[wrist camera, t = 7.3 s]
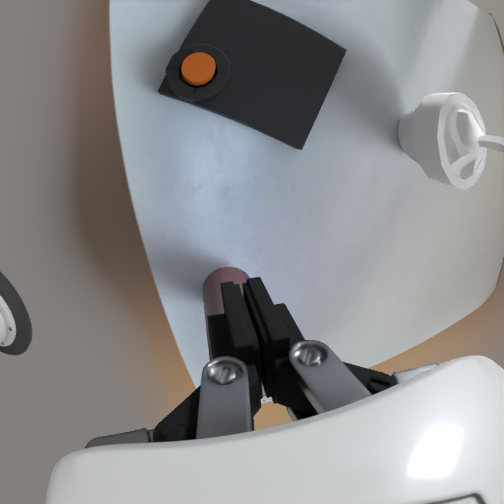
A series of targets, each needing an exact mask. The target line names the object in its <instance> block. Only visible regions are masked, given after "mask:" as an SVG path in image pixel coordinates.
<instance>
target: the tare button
mask: <svg viewBox="0 0 504 504" xmlns="http://www.w3.org/2000/svg"><path fill="white" fill-rule="evenodd" d="M181 71H182V76H183V78H184V80H185V81H186V82H187V83H189V84H191V85H196V86H198V85H203V84H206V83H207V82H209V81H210V80H211V79H212V77H213V75H214V71H215V62H214V60H213V58H212V57H211V56H209V55H208V54H205V53H194V54H191V55H189V56H188V57H186V58H185V60H184V61H183V63H182V66H181Z"/></svg>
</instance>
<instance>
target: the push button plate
mask: <svg viewBox="0 0 504 504" xmlns="http://www.w3.org/2000/svg"><path fill="white" fill-rule="evenodd" d="M194 53H205V54H208V55H209V56H211V57H212V58H213V60H214V62H215V71H214V75H213V77H212V79H211V80H210V81H209V82H207V83H206V84H203V85H198V86H196V85H191V84H189V83H187V82H186V81H185V80H184V78H183V76H182V71H181V66H182V63H183V61H184V60H185V58H186V57H188V56H189V55H191V54H194ZM345 53H346V49H344V48H343V47H341V46H339V45H338V44H336V43H335V42H333V41H331V40H330V39H328V38H327V37H325V36H323V35H321V34H320V33H318V32H316V31H314V30H313V29H311V28H309V27H307V26H305V25H303V24H301V23H300V22H298V21H296V20H294V19H292V18H290V17H288V16H285V15H283V14H281V13H279V12H277V11H275V10H272V9H270V8H268V7H265V6H263V5H261V4H258V3H256V2H253V1H251V0H210V1H209V3H208V4H207V5H206V7H205V8H204V10H203V11H202V13H201V14H200V16H199V18H198V19H197V21H196V22H195V24H194V25H193V27H192V29H191V30H190V32H189V34H188V35H187V37H186V39H185V40H184V42H183V44H182V46H181V47H180V49H179V51H178V52H177V53H175V54H174V55H173V56H172V58H171V60H170V62H169V64H168V66H167V68H166V76H165V78H164V80H163V82H162V84H161V86H160V88H159V90H158V92H159V94H161V95H165V96H168V97H171V98H174V99H177V100H180V101H183V102H186V103H189V104H192V105H195V106H198V107H200V108H203V109H206V110H208V111H211V112H214V113H216V114H219V115H222V116H224V117H227V118H229V119H232V120H234V121H236V122H239V123H241V124H244V125H246V126H248V127H251V128H253V129H255V130H258V131H260V132H262V133H264V134H266V135H269V136H271V137H273V138H275V139H277V140H279V141H281V142H284V143H286V144H288V145H290V146H292V147H294V148H296V149H300V150H302V148H303V146H304V144H305V142H306V140H307V137H308V135H309V133H310V131H311V128H312V126H313V124H314V122H315V120H316V117H317V115H318V113H319V111H320V108H321V106H322V104H323V102H324V100H325V97H326V95H327V93H328V91H329V88H330V86H331V84H332V82H333V80H334V77H335V75H336V73H337V71H338V68H339V66H340V64H341V62H342V59H343V57H344V55H345Z"/></svg>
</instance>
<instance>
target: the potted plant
mask: <svg viewBox="0 0 504 504" xmlns="http://www.w3.org/2000/svg"><path fill="white" fill-rule="evenodd" d="M397 134H398V138H399V142H400V146H401V147H402V149H403V150H404V152H405V153H406V154H407V155H408V156H409V157H411V158H412V159H413V160H415V161H416V162H417V163H419V164H420V165H421V167H422V168H423V170H424V171H425V173H426V175H427V176H428V178H430V179H433V180H435V181H438V182H440V183H443V184H446V185H449V186H452V187H455V188H458V189H461V190H464V191H465V190H466V189H468V188H470V187H471V186H473V185H475V184H476V183H477V181H478V179H479V177H480V175H481V173H482V171H483V169H484V167H485V160H486V152H487V148H490V149H494V150H499V151H502V152H504V138H503V137H498V136H492V135H486V132H485V126H484V122H483V119H482V117H481V115H480V113H479V111H478V109H477V107H476V105H475V103H474V102H473V101H471V100H470V99H469V98H468V97H467V96H466V95H464V94H463V93H437V94H430V95H425V96H424V98H423V99H422V101H421V102H420V104H419V105H418V106H417V107H415V108H414V109H412V110H410V111H408V112H406V113H405V114H404V115H403V117H402V118H401V119H400V121H399V125H398V133H397Z"/></svg>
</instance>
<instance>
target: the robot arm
mask: <svg viewBox="0 0 504 504" xmlns="http://www.w3.org/2000/svg"><path fill="white" fill-rule="evenodd" d="M220 286H221V294H222V301H223V308H224V313H223V314H217V315H210V316H207V321H208V329H209V337H210V345H211V352H212V359H213V360H211V361H210V362H208V363H207V364H206V365H205V367H204V368H203V371H202V378H201V385H200V386H199V387H198V388H197V389H196V390H195V391H194V392H193V393H192V394H191V395H190V396H189V397H187V398H186V399H185V400H184V401H183V402H182V403H181V404H180V405H179V406H178V407H176V408H175V409H174V410H173V411H172V412H171V413H170V414H169V415H167V417H165V418H164V419H163V420H162V421H161V422H160V423H159V424H158V425H157V426H156V427H155V429H151V430H147V429H146V428H143V429H139V430H134V431H130V432H124V433H119V434H114V435H108V436H102V437H97V438H94V439H92V440H91V441H89V442H88V444H87V445H86V447H85V449H82V450H79V451H76V452H73V453H71V454H69V455H67V456H65V457H63V458H62V459H61V460H59V462H58V463H57V464H56V465H55V467H54V469H53V471H52V474H51V477H50V481H49V485H48V488H47V494H46V501H45V504H504V370H503V369H502V368H501V367H500V366H499V365H498V364H496V363H495V362H493V361H492V360H491V359H489V358H487V357H483V356H477V355H476V356H467V357H460V358H456V359H453V360H450V361H447V362H445V363H442V364H436V363H435V364H429V365H425V366H421V367H417V368H412V369H408V370H403V371H399V372H394V373H393V374H392V376H389V375H388V374H384V373H382V372H378V371H374V370H371V369H367V368H363V367H360V366H356V365H352V364H349V363H345V362H342V361H341V360H340V359H339V358H338V357H337V356H336V355H335V353H334V352H333V351H332V350H331V349H330V348H329V347H328V346H327V345H326V344H324V343H322V342H320V341H316V340H305V339H304V337H303V336H302V334H301V332H300V330H299V329H298V327H297V325H296V323H295V321H294V320H293V318H292V316H291V314H290V312H289V311H288V309H287V307H286V305H285V304H284V303H282V304H276V305H274V304H273V302H272V300H271V298H270V296H269V294H268V292H267V290H266V288H265V286H264V284H263V282H262V280H261V278H260V277H256V278H249V279H247V282H246V283H242V287H243V295H242V292H241V289H240V286H239V284H234V282H233V281H230V282H223V283H220ZM15 336H16V325H15V321H14V318H13V316H12V313H11V311H10V309H9V307H8V306H7V304H6V302H5V301H4V299H3V298H2V297H1V295H0V346H9V345H10V344H12V342H13V341H14V339H15ZM262 385H263V388H264V391H265V394H266V397H272V400H273V402H274V403H279V404H281V405H284V406H286V407H287V411H288V414H289V415H290V417H291V418H292V420H293V422H291V423H286V424H283V425H278V426H274V427H270V428H265V429H260V430H255V431H254V420H253V417H254V415H255V414H256V413H257V412H258V410H259V409H260V408H261V399H262V398H263V393H262Z"/></svg>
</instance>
